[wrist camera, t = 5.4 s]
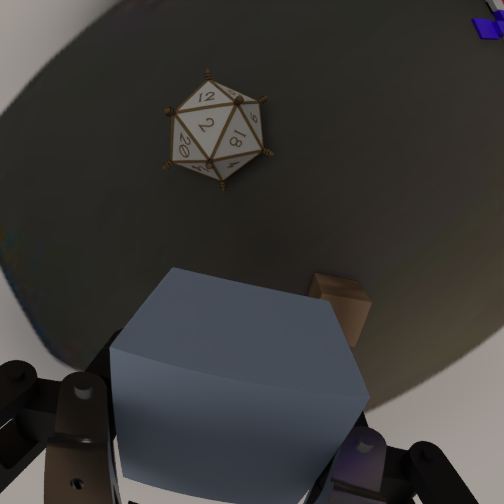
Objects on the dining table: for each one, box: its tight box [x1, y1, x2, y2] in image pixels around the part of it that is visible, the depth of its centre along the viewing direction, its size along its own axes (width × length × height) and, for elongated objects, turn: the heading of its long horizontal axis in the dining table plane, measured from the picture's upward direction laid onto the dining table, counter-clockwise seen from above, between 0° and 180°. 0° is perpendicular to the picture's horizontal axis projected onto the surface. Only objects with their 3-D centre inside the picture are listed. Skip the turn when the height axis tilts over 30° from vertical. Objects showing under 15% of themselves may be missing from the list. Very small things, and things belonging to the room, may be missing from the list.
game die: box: [162, 69, 274, 191], centre depth 22 cm, size 9×8×10 cm
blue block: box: [110, 267, 370, 504], centre depth 9 cm, size 6×6×5 cm
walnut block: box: [308, 273, 372, 347], centre depth 27 cm, size 4×4×5 cm
